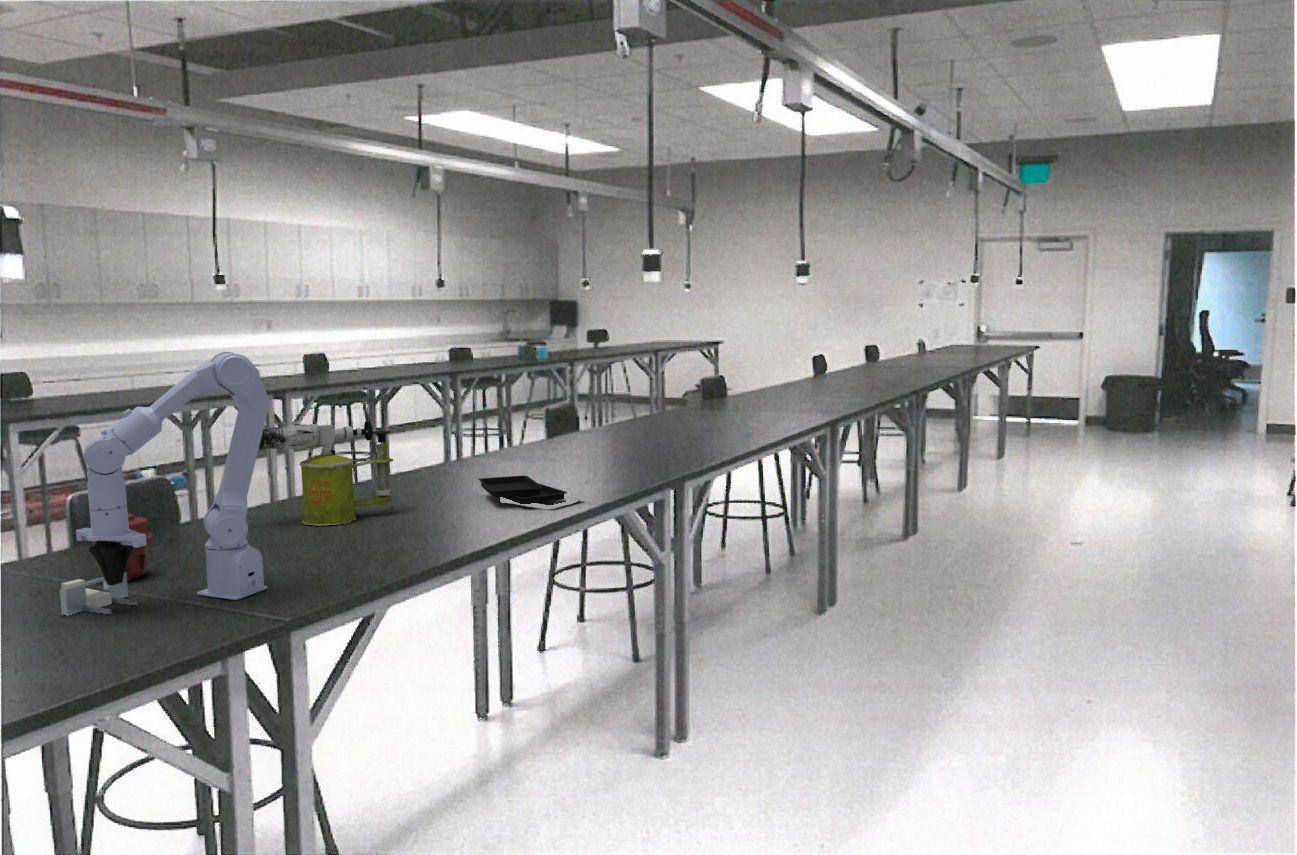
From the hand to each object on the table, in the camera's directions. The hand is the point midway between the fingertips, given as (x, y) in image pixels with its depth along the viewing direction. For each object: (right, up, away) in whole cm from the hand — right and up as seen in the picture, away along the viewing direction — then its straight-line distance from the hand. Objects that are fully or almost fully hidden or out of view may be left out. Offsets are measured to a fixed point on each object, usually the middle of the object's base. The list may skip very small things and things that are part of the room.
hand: (114, 583), depth 171 cm
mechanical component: (-9, -2, +20) cm, 22 cm away
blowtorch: (+15, +4, +69) cm, 71 cm away
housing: (-2, -4, +1) cm, 5 cm away
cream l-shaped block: (-7, -4, +4) cm, 9 cm away
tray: (+59, +7, +91) cm, 109 cm away
